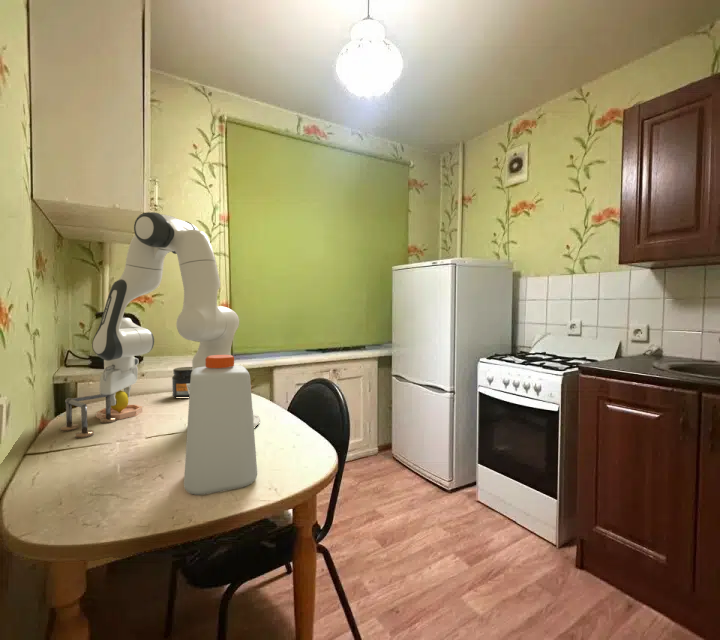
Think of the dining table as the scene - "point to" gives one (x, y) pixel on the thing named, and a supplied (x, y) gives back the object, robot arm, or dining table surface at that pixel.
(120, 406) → the lemon
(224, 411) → the plastic bottle
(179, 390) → the supplement container
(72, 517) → the dining table surface
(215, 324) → the robot arm
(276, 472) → the dining table surface
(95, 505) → the dining table surface
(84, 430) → the metal pipe stand
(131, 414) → the terracotta dish
